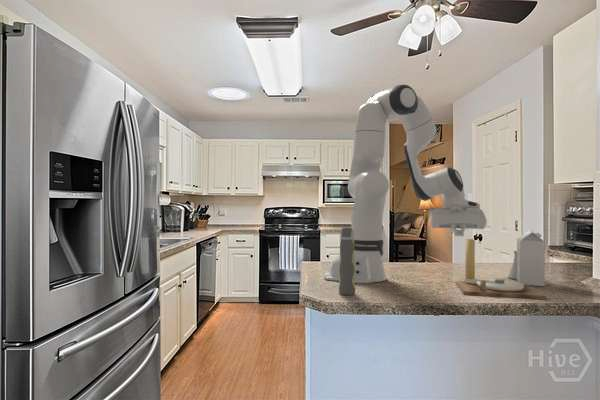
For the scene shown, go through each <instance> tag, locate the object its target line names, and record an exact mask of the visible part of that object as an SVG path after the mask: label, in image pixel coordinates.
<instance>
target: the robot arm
mask: <svg viewBox="0 0 600 400" xmlns="http://www.w3.org/2000/svg"><path fill="white" fill-rule="evenodd" d="M396 118H398V119H399V120H400V121H401V124H402V126H403V128H404V132H405V133H406V142H404V144H403V150H404V156H405V160H406V163H407V168H408V170H409V175H410V179H411V183H412V188H413V189H412V190H413V193H414V195H415V197H416V198H417V199H418V200H421V201H424V202H426V201H429V200H431V199H434V198H436V197H439V196H441V198H442V207H443V208H442V207H441V208H440V207H439V208H436V207H433V208H432V209H429V210H427V211H428V212H427V213H428V216H429V226H430V227H431V228H432V229H450V230H451V232H452V233H454V236H455V237H465V236H464V235H465V231H466V229H467V230H470V229H471V230H473V229H474V230H475V229H476V230H484V229H485V228H486V227H487V221H488V220H487V218H486V215H485V212H484V211H483V210H482V209H481V203H479V202H475V201H470V200H468V199H466V198H465V196H466V195H465V189H464V183H463V178H462V176H461V175H460V173H459V171H458V170H456V169H455V168H452V167H449V166H448V167H445V168H441V169H439V170H437V171H435V172H432V173H428V174H425V175H423V174H422V172H421V168H420V164H419V160H418V156H419V154H420V153H421V152H422V151H423V150H424V149H425V148H426V147H427V146H428V145H429V144H430V143H431V142H432V141H433V140H434V138H435V136H436V134H437V126H436V123H435V120H434V118H433V116H432V113H431V112H430V110H429V108H428V107H427V105H426V103H425V102H424V100H423V99H422V98H421V97H420V96H418V95H417V93H416V91H415V90H414V88H412V87H411V86H410V85H408V84H399V85H395V86H394V87H393V86H392V87H390V88H386V89H383V90H382V91H379V92H378V93H376V94H373V95H372V96H370V97H369V99H368V100H367V102H366V103H364V104H362V105H361V106H360V107H359V109H358V111H357V115H356V119H355V126H354V138H353V139H354V140H353V152H352V160H351V165H350V170H349V178H348V184H347V190H348V191H347V192H348V193H349V196H350V197H351V198H352V199H354V203H353V204H354V205H353V210H352V214H351V215H352V216H351V218H350V219H351V228H352V229H353V230H354V266H355V283H356V284H370V283H376V282H377V283H378V282H379V283H380V282H383V281H386V280H388V279H387V275H386V271H385V267H384V266H385V265H384V258H383V257H384V254H385V252H384V250H385V247H384V246H385V244H384V239H383V215H384V208H385V204H386V198H387V197H386V196H387V193H388V191H389V188H390V184H389V183H390V182H389V180H388V178H387V176H386V175H385V174H384V173H382V172H381V171H380V170H381V164H382V163H383V159H384V156H385V146H386V145H385V143H386V142H385V141H386V123H387V121H388V120H393V119H396ZM339 269H340V253H339V254H338V255H337V256H336V257H334V258H333V259H332V261H331V263H330V268H329V271H327V272H325V273H323V274H324V275H323V279H325V280H328V281H336V282H339V279H340V271H339Z"/></svg>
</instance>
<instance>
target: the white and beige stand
mask: <svg viewBox="0 0 600 400" xmlns="http://www.w3.org/2000/svg"><path fill="white" fill-rule="evenodd" d="M475 244H476V239H473V238H466V239H465V280H464V281H465V282H466V283H473V284H477V285H478V286H479V287H480V280H484V281H486V289H491V290H498V291H521V290H524V285H523V284H522V283H519V282H518V281H517V280H512V279H511V280H510V279H502V278H476V272H475V271H476V258H475V257H476V249H475V248H476V245H475Z"/></svg>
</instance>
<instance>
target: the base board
mask: <svg viewBox="0 0 600 400" xmlns="http://www.w3.org/2000/svg"><path fill="white" fill-rule="evenodd" d="M454 284H455V285H456V287H457V288H458V289H459V291H460V292H461V293H462V295H467V296H479V297H480V296H482V297H484V296H485V297H500V298H514V299H515V298H517V299H531V300H532V299H533V300H547V295H546V294H544V293H542V292H540V291H538V289H535V288H533V287H532V285H527V284H523V285H524V290H521V291H498V290H491V289H486V281H484V280H480V287H479V286H478V285H477V284H473V283H466V282H465V280H454Z"/></svg>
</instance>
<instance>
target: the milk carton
mask: <svg viewBox="0 0 600 400" xmlns="http://www.w3.org/2000/svg"><path fill="white" fill-rule="evenodd" d="M545 248H546V247H545V241H544V240H543V239H542V234H541V233H539V232H538V231H535V232H534V231H533V229H532V228H530V227H527V231H526V232H524V233H523V234H521V235H520V236H519V237H517V238H516V251H517V280H516V282H519V283H522V284H527V285H529V286H531V287H532V286H535V287H545V286H546V282H545V281H546V279H545V278H546V276H545V275H546V273H545V270H546V269H545V266H546V265H545V261H546V259H545V258H546V256H545V254H546V253H545Z"/></svg>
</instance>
